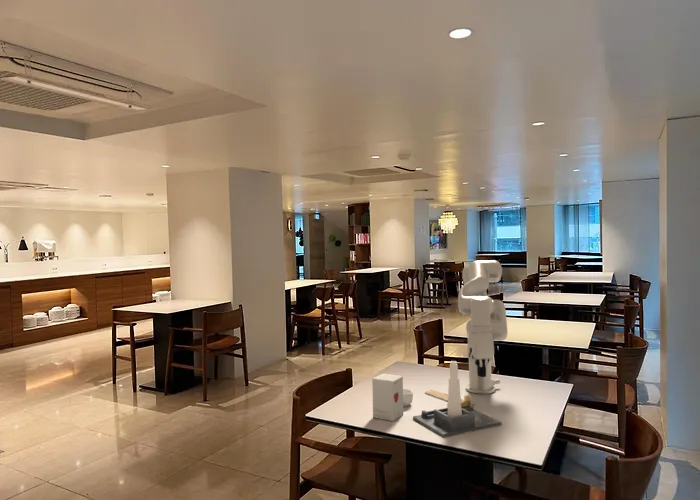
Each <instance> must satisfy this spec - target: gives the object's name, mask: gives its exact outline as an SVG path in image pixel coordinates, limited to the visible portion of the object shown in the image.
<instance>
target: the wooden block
mask: <svg viewBox="0 0 700 500" xmlns="http://www.w3.org/2000/svg"><path fill="white" fill-rule="evenodd" d="M463 400H464V401H461V408H468V407H472V404H471V403H472V396H471V394H465V395H464V399H463ZM446 406H447V407H448V403H447V405H446Z"/></svg>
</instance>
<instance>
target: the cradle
mask: <svg viewBox="0 0 700 500" xmlns="http://www.w3.org/2000/svg"><path fill="white" fill-rule="evenodd" d="M461 410H462V415H461V416H456V417H450V416H448V415H447V413H448V407H445V408H438V409H437V408H435V409H433V410H428V411H426V410H425V409H424V410H421V414H419V415H414V416H412V419H413V420H414V421H415V422H417V423H419V424H421V425H422V426H424V427H425V428H428V429H429V430H430V431H432V432H434V433H435V434H437V435H439V436H440V437H442V438H446V437H452V436H455V435H461V434H464V433H471V432H474V431H479V430H484V429H488V428H493V427H497V426H502V425H503V424H502V423H503V421H501V420H499V419H496V418H494V417H492V416H489V415H488V414H485V413H483V412H481V411H478V410H477V409H475V408H474V406H471V407H468V408H461Z"/></svg>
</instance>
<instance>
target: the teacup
mask: <svg viewBox="0 0 700 500" xmlns="http://www.w3.org/2000/svg"><path fill="white" fill-rule="evenodd" d="M413 396H414V393H413V390H411V389H408V388H403V407H408V406H410V405H411V404H412V403H413V400H414V399H413V398H414V397H413Z"/></svg>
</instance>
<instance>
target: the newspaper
mask: <svg viewBox="0 0 700 500" xmlns="http://www.w3.org/2000/svg"><path fill="white" fill-rule="evenodd" d="M424 394H425V395H428V396H431V397H433V398H437V399H439V400H441V401H444V402H447V403H448V393H444V392H441V391H438V390H436V389H428V390H426V391H424ZM461 401H464V399H461ZM472 405H473V406H474V405H476V404H475V403H473V402H471V406H472Z"/></svg>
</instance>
